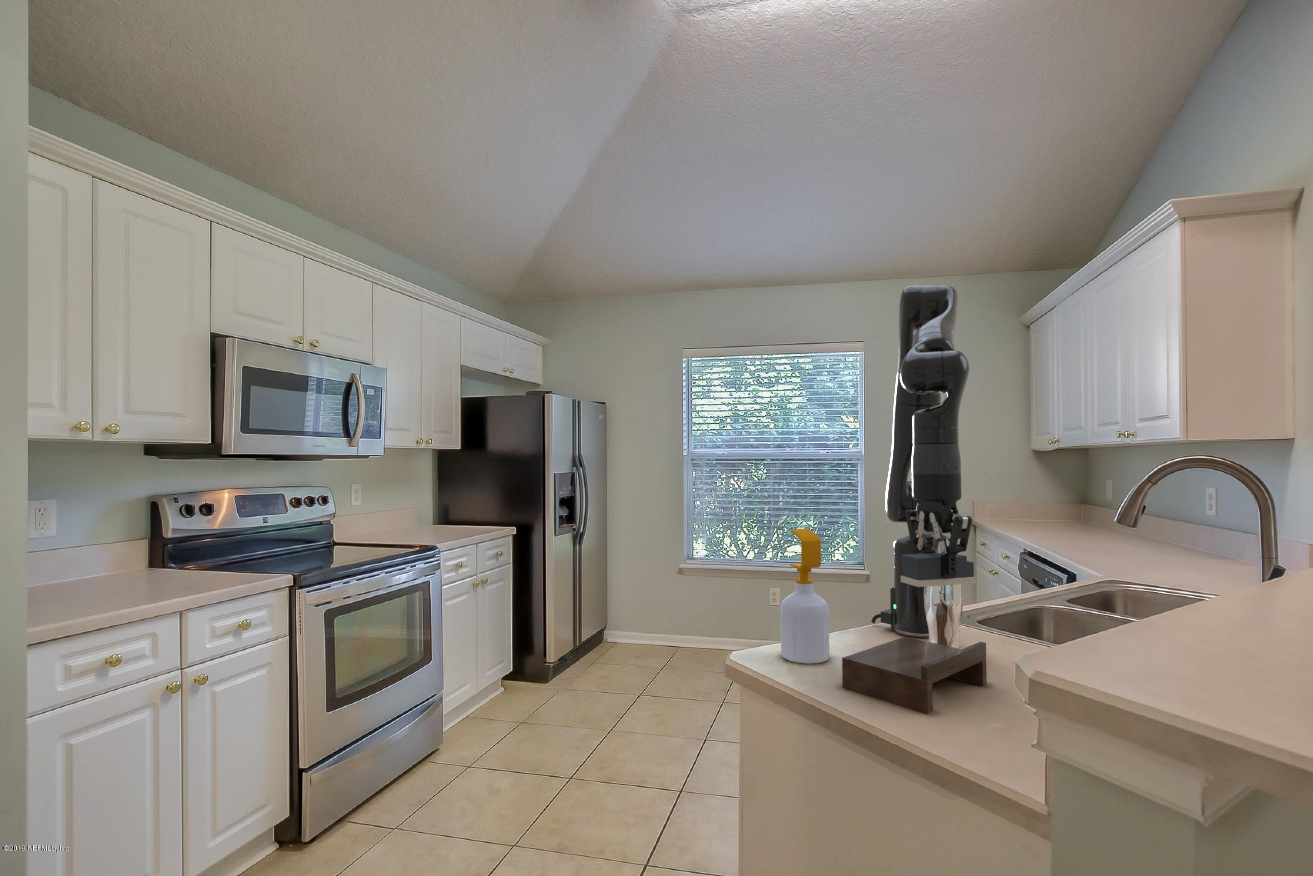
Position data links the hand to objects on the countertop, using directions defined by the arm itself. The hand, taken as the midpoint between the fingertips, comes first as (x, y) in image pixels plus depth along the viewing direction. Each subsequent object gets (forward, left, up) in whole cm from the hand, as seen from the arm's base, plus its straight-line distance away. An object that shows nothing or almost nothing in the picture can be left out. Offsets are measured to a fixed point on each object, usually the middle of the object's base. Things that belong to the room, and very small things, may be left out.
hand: (937, 574), depth 109 cm
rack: (-4, 0, -19) cm, 20 cm away
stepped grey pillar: (0, 0, -1) cm, 1 cm away
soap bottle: (-26, -1, -19) cm, 33 cm away
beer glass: (-9, +20, -19) cm, 29 cm away
